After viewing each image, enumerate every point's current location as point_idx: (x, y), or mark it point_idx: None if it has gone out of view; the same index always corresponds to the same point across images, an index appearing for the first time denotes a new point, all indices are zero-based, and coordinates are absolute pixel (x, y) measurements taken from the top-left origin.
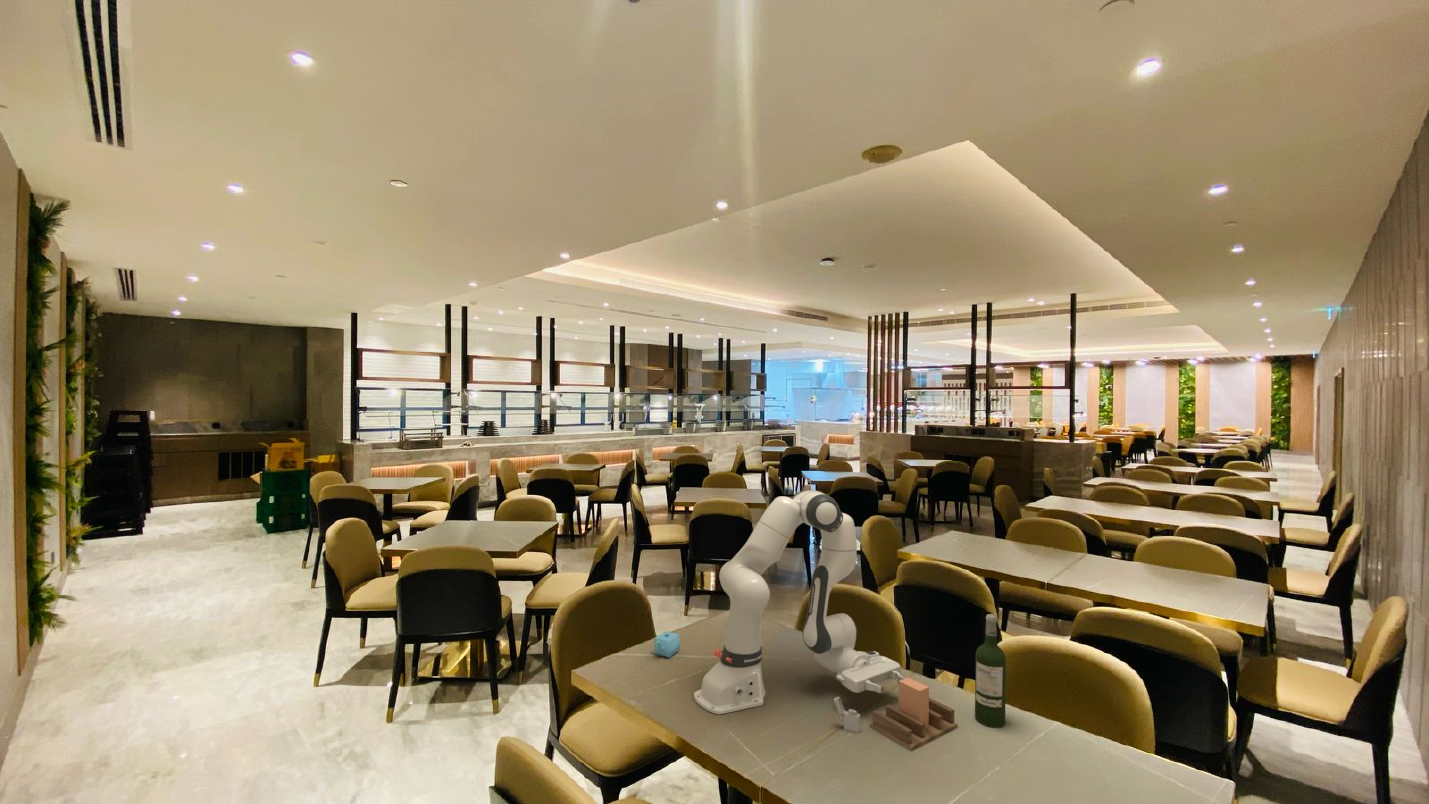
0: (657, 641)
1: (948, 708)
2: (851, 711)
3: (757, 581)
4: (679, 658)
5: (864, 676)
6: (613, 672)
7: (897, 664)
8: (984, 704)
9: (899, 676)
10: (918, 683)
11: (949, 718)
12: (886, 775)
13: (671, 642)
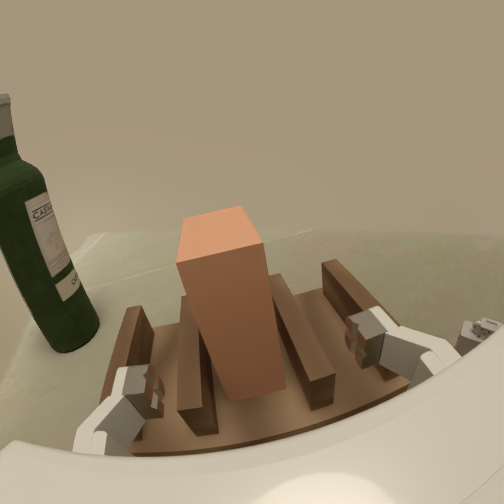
0: None
1: (131, 315)
2: (492, 320)
3: None
4: None
5: (473, 376)
6: None
7: (8, 453)
8: (78, 284)
9: (129, 387)
10: (191, 230)
11: (148, 326)
12: (411, 251)
13: None
